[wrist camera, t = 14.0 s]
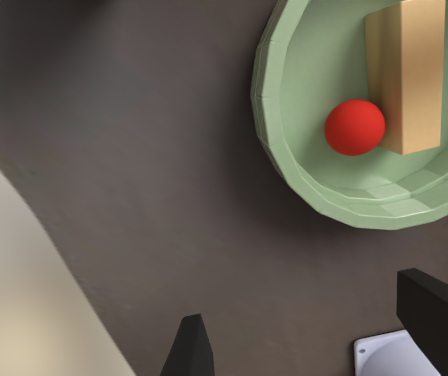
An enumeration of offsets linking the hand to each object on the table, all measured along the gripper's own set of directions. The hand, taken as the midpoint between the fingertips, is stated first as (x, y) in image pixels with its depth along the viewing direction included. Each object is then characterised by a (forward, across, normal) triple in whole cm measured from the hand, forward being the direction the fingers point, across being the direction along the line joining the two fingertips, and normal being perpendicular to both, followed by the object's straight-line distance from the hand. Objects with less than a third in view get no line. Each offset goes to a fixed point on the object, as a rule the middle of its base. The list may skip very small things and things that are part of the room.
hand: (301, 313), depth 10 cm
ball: (+7, -6, -4) cm, 10 cm away
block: (+9, -8, -6) cm, 14 cm away
